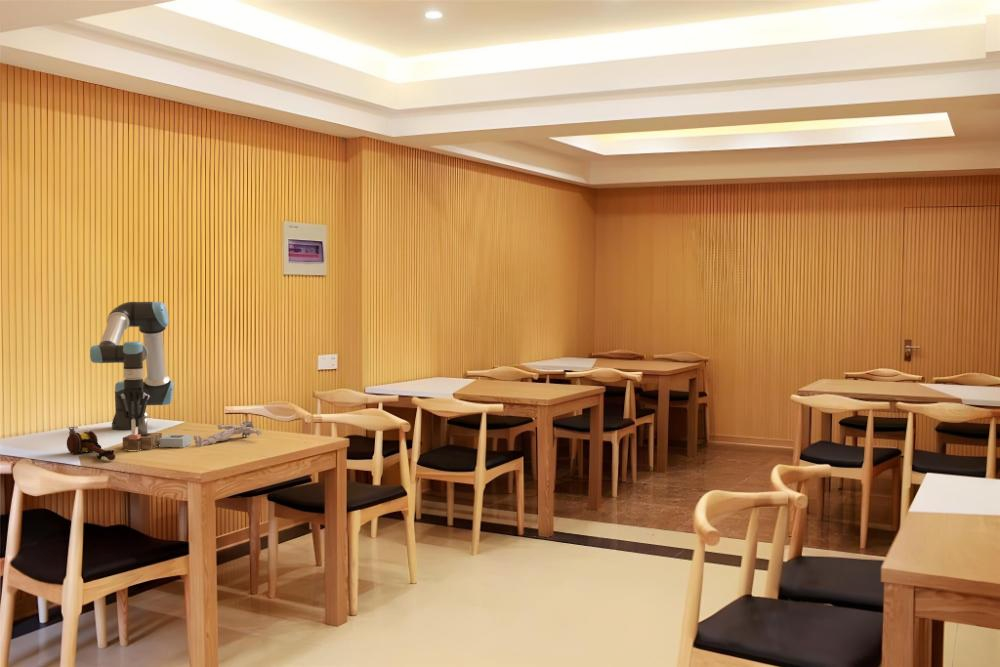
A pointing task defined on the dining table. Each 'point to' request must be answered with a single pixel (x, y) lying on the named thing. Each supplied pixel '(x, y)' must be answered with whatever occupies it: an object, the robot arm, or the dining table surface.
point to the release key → (135, 437)
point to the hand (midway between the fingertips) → (134, 434)
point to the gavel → (86, 444)
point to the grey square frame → (175, 441)
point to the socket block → (142, 442)
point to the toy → (228, 433)
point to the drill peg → (143, 426)
